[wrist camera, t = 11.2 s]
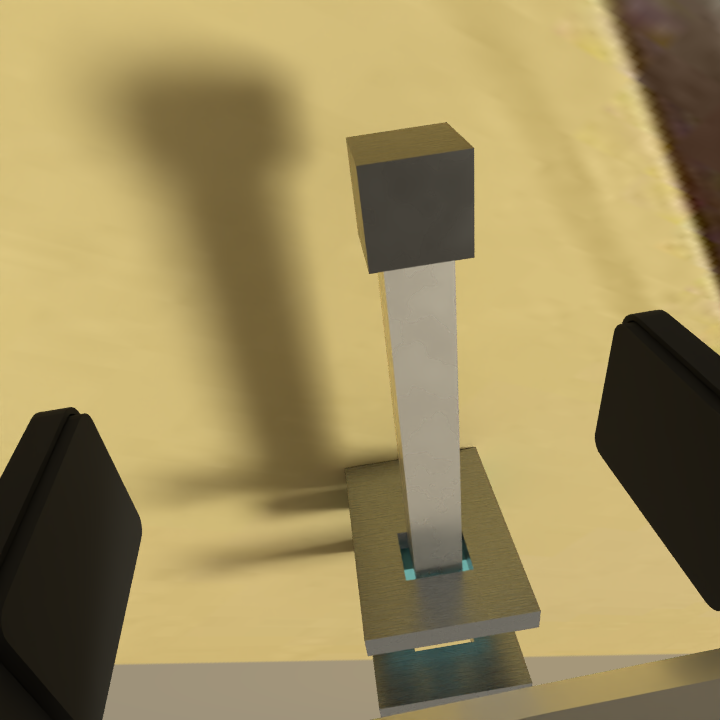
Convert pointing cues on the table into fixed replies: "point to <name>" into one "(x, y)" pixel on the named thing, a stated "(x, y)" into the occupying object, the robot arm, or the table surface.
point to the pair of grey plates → (438, 596)
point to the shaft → (420, 314)
